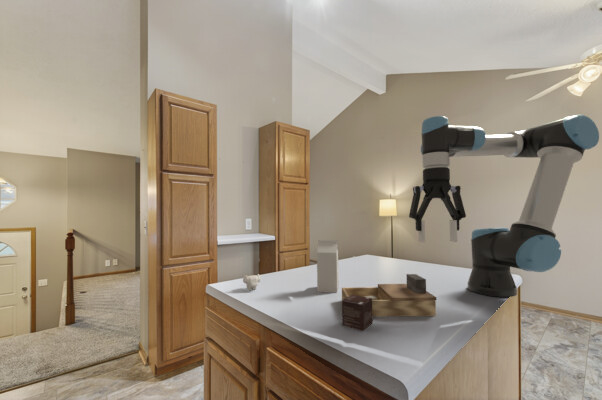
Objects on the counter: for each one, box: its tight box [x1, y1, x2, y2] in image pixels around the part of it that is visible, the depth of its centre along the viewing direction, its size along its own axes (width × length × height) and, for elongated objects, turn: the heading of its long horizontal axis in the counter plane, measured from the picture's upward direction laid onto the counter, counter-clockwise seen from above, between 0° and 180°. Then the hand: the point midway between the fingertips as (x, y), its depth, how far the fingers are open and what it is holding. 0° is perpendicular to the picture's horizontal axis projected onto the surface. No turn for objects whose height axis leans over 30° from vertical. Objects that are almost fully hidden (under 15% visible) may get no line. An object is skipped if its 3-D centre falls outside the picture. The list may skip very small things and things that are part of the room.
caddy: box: [341, 286, 437, 317], centre depth 87 cm, size 24×14×5 cm, turn 91°
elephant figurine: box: [242, 273, 261, 291], centre depth 111 cm, size 7×8×6 cm
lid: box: [377, 273, 437, 301], centre depth 87 cm, size 12×15×5 cm
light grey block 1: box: [365, 296, 378, 300], centre depth 90 cm, size 3×3×2 cm
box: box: [341, 295, 373, 332], centre depth 74 cm, size 6×6×7 cm
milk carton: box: [316, 239, 339, 293], centre depth 107 cm, size 7×7×19 cm
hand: (437, 241), depth 88 cm, fingers open, 9 cm apart
